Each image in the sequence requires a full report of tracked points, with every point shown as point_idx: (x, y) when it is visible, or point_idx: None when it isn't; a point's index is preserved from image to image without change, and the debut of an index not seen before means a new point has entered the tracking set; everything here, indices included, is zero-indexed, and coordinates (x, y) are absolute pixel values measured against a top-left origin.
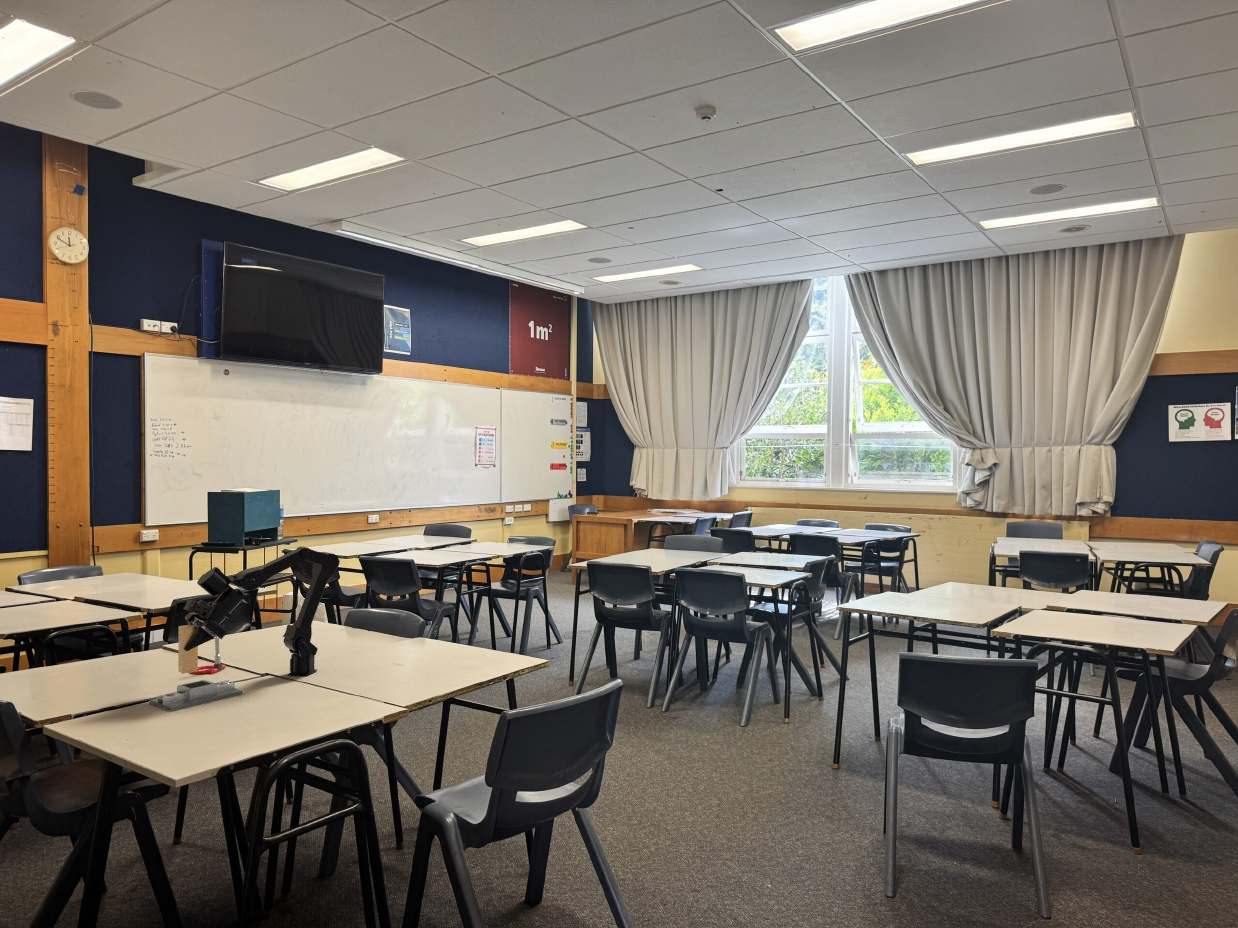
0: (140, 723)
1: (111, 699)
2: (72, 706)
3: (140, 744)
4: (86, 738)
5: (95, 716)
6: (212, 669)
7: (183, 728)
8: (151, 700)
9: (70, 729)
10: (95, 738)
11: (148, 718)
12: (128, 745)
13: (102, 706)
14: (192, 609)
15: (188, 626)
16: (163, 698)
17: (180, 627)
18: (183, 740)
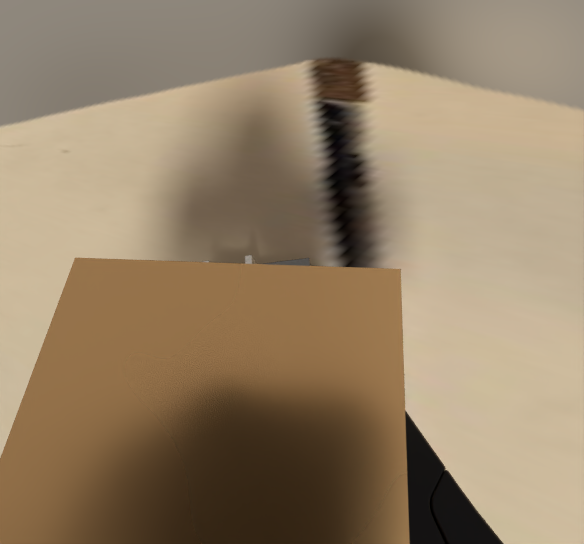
0: (140, 194)
1: (457, 195)
2: (448, 111)
3: (13, 161)
4: (142, 102)
5: (293, 136)
6: None
7: (12, 251)
8: (296, 260)
9: (231, 88)
10: (127, 113)
11: (162, 218)
12: (30, 145)
13: (385, 163)
14: None
15: (126, 468)
16: (204, 261)
17: (239, 268)
18: None
